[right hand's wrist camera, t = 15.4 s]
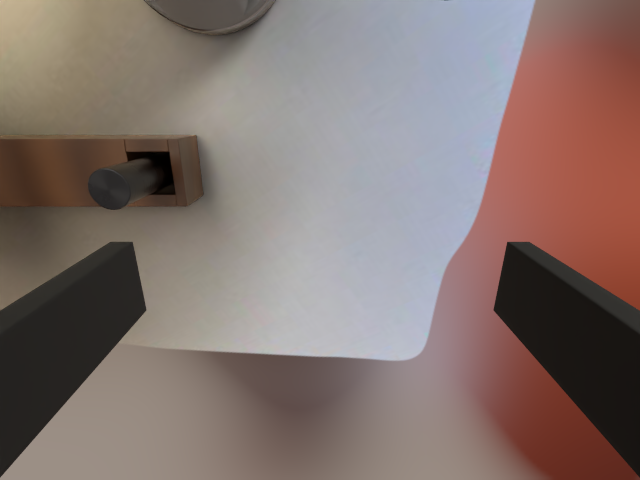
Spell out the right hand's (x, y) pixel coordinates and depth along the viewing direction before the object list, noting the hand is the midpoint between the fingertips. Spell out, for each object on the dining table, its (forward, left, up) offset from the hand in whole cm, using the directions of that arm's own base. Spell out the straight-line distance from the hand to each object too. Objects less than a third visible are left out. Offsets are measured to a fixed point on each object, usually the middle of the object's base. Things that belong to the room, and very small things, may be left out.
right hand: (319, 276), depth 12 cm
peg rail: (0, -26, -27) cm, 37 cm away
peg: (0, -16, -27) cm, 31 cm away
